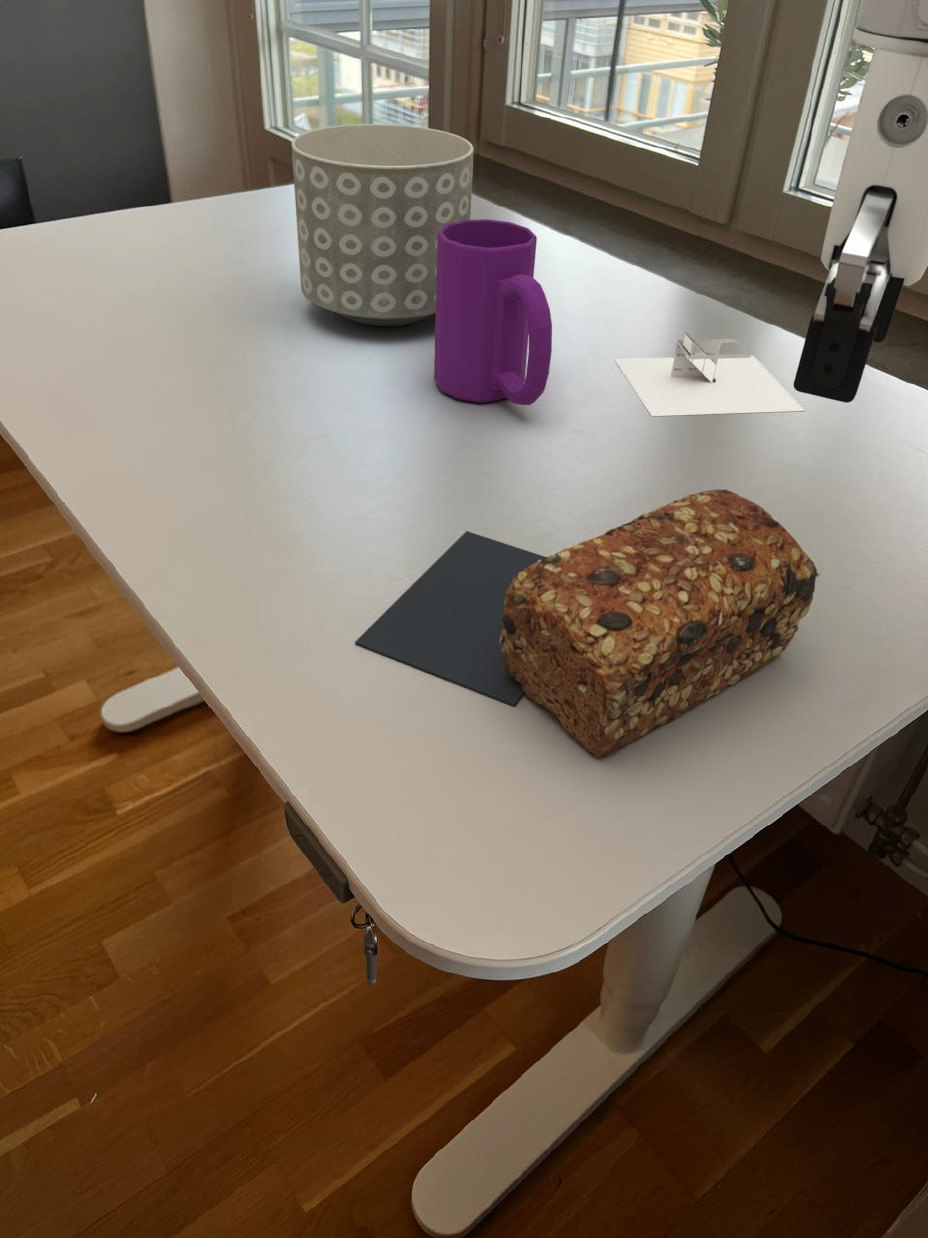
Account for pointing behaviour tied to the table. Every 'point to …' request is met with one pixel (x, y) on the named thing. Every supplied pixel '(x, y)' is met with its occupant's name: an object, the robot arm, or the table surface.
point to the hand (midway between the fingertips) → (841, 363)
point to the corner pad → (456, 617)
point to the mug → (490, 314)
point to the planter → (377, 216)
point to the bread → (654, 616)
